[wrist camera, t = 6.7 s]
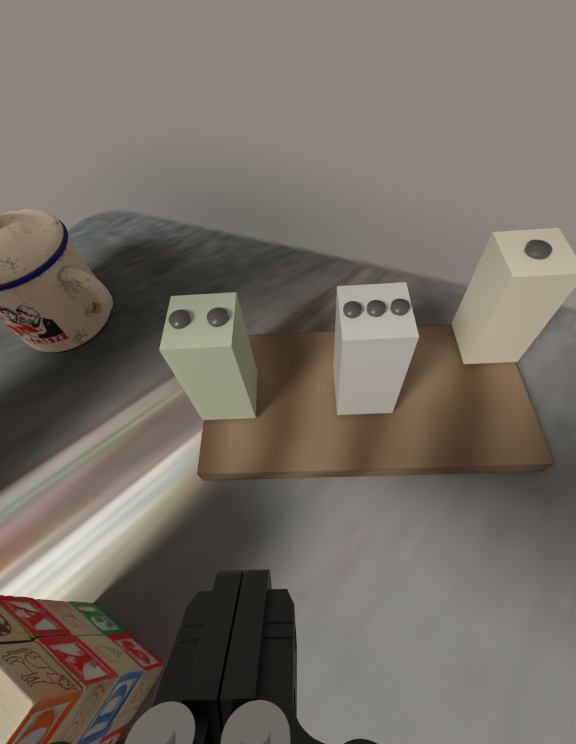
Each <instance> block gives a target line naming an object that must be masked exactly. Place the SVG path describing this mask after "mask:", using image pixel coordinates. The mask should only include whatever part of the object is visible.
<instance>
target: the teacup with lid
mask: <svg viewBox="0 0 576 744" xmlns="http://www.w3.org/2000/svg"><path fill="white" fill-rule="evenodd" d="M112 307H113V300H112V297H111V295H110V293H109V291H108V290H107V288H106V287H105V286H104V285H103V284H102V283H101V282H100V281H99V280H98V279H97V278H96V277H95V275H94V274H93V272H92V271H91V269H90V268H89V266H88V265H87V263H86V262H85V260H84V259H83V258H82V256H81V255H80V253H79V252H78V250H77V249H76V247H75V246H74V244H73V243H72V241H71V240H70V238H69V237H68V232H67V229H66V227H65V225H64V224H63V223H62V222H61V221H60V220H58V219H57V218H56V217H54V216H53V215H51V214H49V213H47V212H44V211H40V210H32V209H23V210H15V211H10V212H6V213H2V214H0V320H1V321H3V322H4V323H5V324H6V325H7V326H8V327H9V328H10V329H11V330H12V331H13V332H15V333H16V334H17V335H18V336H19V337H20V338H21V339H22V340H23V341H24V342H26V343H27V344H28V345H29V346H30V347H32V348H34V349H36V350H39V351H43V352H61V351H66V350H70V349H73V348H75V347H78V346H80V345H82V344H84V343H85V342H87V341H88V340H90V339H91V338H93V337H94V336H95V335H96V334H97V333H98V332H99V331H100V330H101V329H102V328H103V326H104V325H105V323H106V322H107V320H108V317H109V315H110V311H111V309H112Z"/></svg>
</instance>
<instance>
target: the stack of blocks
mask: <svg viewBox="0 0 576 744" xmlns="http://www.w3.org/2000/svg"><path fill="white" fill-rule="evenodd" d="M163 667H164V664H163V663H162V662H161V661H160V660H159V659H158V658H156V657H155V656H154V655H153V654H152V653H151V652H150V651H148V650H147V649H146V648H145V647H144V646H143V645H142V644H140V643H139V642H138V641H137V640H136V639H135V638H133V637H132V636H131V635H130V634H129V633H126V632H125V631H124V630H123V629H122V628H121V627H120V626H119V625H117V624H116V623H115V622H114V621H113V620H112V619H111V618H110V617H109V616H107V615H106V614H105V613H104V612H103V611H102V610H101V609H99V608H98V607H97V606H96V605H95V604H94V603H86V602H73V601H68V602H63V601H53V600H41V599H36V600H35V599H33V598H28V597H14V596H3V595H0V744H50V743H53V742H58V741H66V742H69V743H71V744H115V743H117V741H118V740H119V738H120V737H121V735H122V733H123V732H124V730H125V728H126V727H127V725H128V723H129V722H130V721H131V719H132V718H133V716H134V715H135V713H136V711H137V710H138V708H139V707H140V705H141V703H142V702H143V700H144V699H145V697H146V695H147V694H148V692H149V691H150V689H151V687H152V686H153V684H154V682H155V681H156V679H157V678H158V676H159V674H160V673H161V671H162V669H163Z"/></svg>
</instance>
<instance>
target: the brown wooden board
mask: <svg viewBox="0 0 576 744" xmlns="http://www.w3.org/2000/svg"><path fill="white" fill-rule="evenodd" d="M417 330H418V334H419V338H418V341H417V344H416V347H415V350H414V353H413V356H412V359H411V361H410V364H409V367H408V370H407V373H406V376H405V379H404V381H403V384H402V387H401V390H400V393H399V396H398V399H397V402H396V404H395V407H394V410H393V413H376V414H349V415H337V408H336V396H335V384H334V371H333V365H334V342H335V331H329V332H310V333H291V334H271V335H252V336H248V338H249V342H250V345H251V349H252V353H253V357H254V360H255V364H256V368H257V372H258V378H257V401H256V418H245V419H218V420H204V423H203V432H202V440H201V448H200V456H199V464H198V472H197V475H198V476H199V477H200V478H201V479H202V480H203V481H204V480H239V479H275V478H310V477H346V476H381V475H416V474H452V473H487V472H523V471H544V470H546V469H548V468H549V467H551V466H552V465H554V464H555V463H554V460H553V458H552V455H551V452H550V450H549V447H548V445H547V442H546V440H545V437H544V435H543V432H542V429H541V427H540V424H539V422H538V419H537V417H536V414H535V412H534V409H533V406H532V404H531V401H530V399H529V396H528V394H527V391H526V389H525V386H524V384H523V381H522V378H521V376H520V373H519V371H518V368H517V366H516V363H515V362H502V363H480V364H464V363H463V360H462V357H461V353H460V350H459V347H458V343H457V340H456V337H455V334H454V330H453V327H452V325H446V326H426V327H417Z"/></svg>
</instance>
